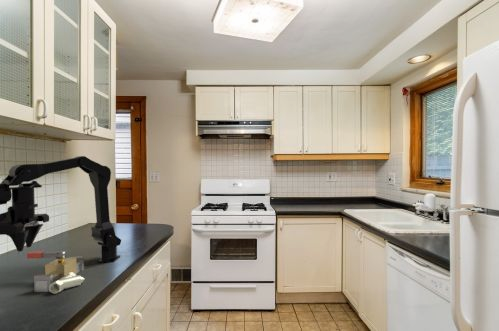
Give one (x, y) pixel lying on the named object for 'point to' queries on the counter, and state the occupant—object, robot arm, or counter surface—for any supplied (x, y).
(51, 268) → the valve
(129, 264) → the counter surface
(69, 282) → the pipe fitting
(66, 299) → the counter surface
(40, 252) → the lever
